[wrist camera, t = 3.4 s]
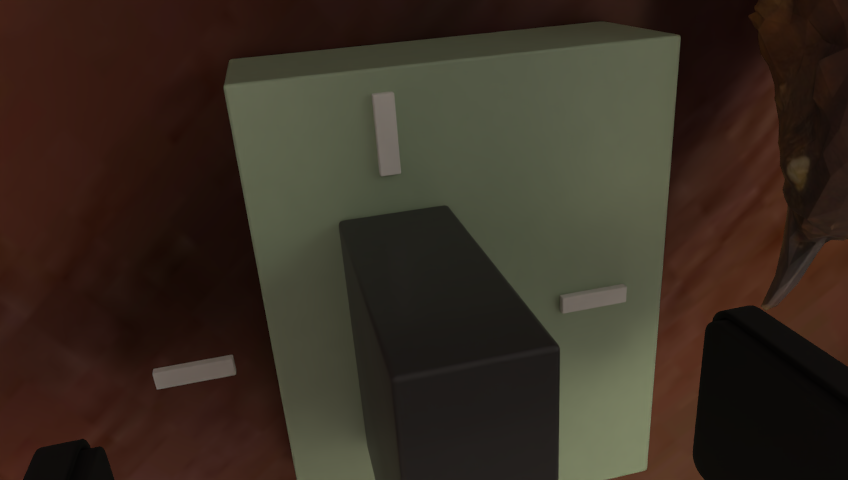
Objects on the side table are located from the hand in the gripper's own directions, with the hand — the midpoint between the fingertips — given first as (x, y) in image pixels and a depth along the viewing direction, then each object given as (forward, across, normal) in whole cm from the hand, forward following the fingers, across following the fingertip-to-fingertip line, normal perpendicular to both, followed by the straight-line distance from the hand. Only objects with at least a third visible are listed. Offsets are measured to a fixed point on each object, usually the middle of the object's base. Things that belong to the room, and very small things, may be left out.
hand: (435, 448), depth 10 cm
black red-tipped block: (+3, 0, 0) cm, 3 cm away
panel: (+6, -1, 0) cm, 6 cm away
